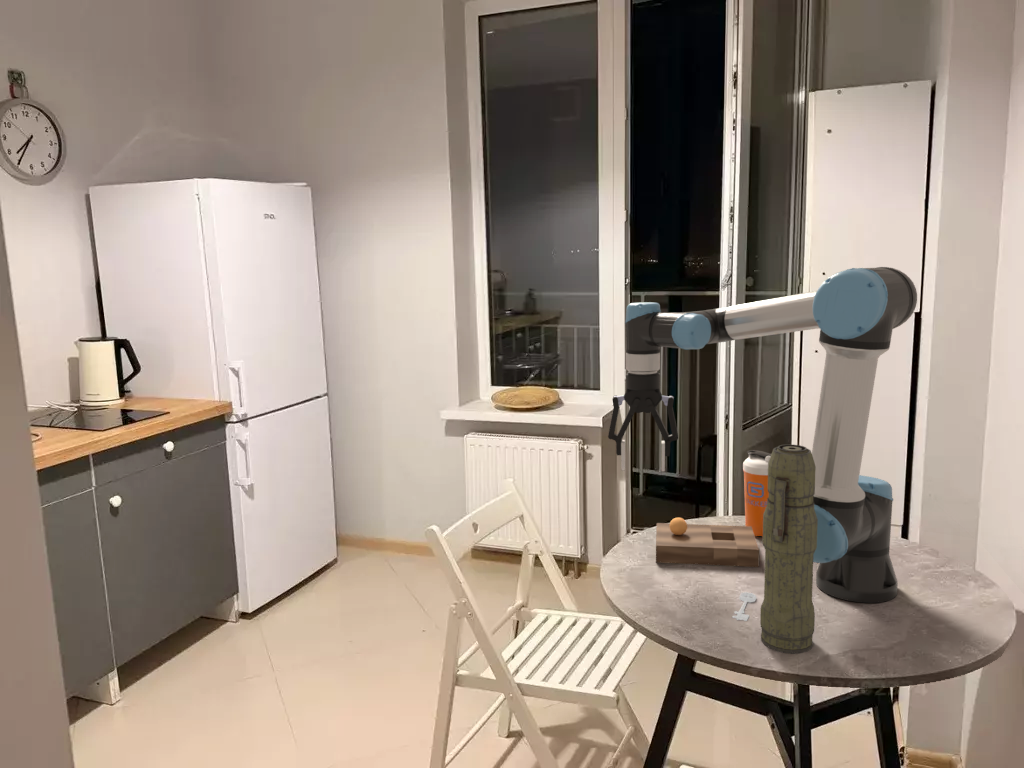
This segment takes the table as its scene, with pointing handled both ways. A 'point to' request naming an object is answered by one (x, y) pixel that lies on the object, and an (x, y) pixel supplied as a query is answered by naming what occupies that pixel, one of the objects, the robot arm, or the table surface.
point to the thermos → (789, 551)
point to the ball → (678, 526)
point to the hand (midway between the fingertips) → (643, 469)
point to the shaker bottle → (756, 489)
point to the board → (707, 545)
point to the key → (745, 599)
